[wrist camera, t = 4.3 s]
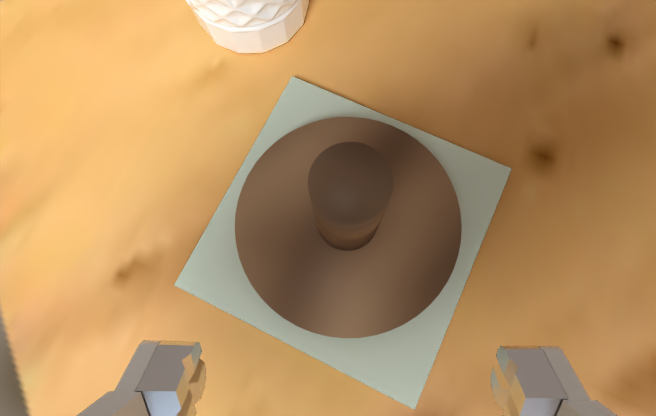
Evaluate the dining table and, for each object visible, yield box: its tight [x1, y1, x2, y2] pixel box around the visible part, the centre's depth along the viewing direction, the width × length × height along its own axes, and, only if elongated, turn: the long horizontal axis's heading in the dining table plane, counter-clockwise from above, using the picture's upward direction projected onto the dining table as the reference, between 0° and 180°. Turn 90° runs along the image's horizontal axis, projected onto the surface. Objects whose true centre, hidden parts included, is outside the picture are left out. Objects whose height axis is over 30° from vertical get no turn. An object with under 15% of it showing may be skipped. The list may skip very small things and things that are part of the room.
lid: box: [235, 117, 462, 338], centre depth 18 cm, size 11×11×7 cm
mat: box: [174, 76, 512, 410], centre depth 22 cm, size 13×13×1 cm
